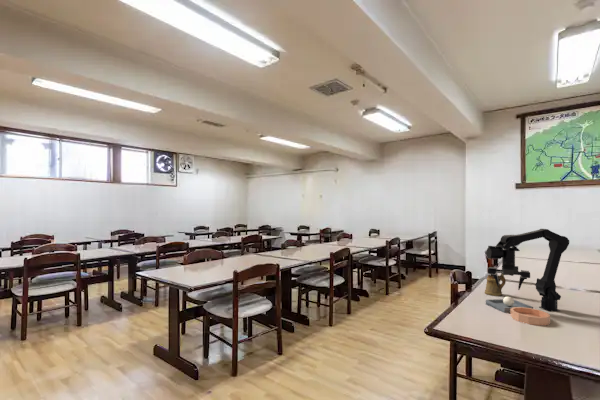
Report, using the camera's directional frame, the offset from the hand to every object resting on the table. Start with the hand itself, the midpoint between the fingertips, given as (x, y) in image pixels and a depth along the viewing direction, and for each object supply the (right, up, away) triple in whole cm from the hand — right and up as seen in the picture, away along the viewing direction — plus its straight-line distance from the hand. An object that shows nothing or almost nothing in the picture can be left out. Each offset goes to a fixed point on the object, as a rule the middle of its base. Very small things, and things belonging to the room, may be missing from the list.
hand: (508, 288), depth 171 cm
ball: (0, -7, 0) cm, 7 cm away
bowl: (-1, -10, -17) cm, 20 cm away
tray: (0, -10, 0) cm, 10 cm away
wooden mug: (+9, -11, +25) cm, 29 cm away
